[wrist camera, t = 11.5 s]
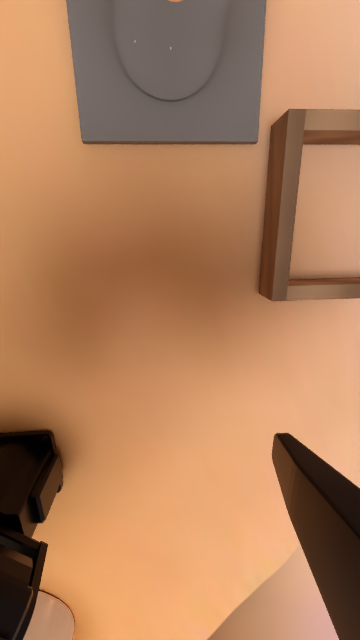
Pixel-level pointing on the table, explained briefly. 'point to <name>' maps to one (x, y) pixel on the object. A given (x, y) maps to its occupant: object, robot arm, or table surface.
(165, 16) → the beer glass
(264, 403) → the table surface
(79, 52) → the rubber mat
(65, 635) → the utensil holder
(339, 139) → the brown square tray
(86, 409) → the table surface
